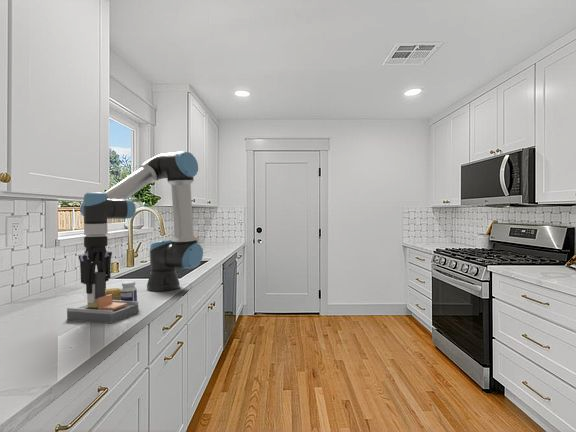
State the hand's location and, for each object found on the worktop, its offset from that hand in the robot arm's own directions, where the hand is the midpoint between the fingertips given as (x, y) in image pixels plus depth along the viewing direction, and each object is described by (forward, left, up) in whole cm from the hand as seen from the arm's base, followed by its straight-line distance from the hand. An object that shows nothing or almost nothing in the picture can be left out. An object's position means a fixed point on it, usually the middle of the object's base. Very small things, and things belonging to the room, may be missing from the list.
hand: (96, 300), depth 134 cm
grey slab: (0, +3, -5) cm, 6 cm away
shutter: (0, +7, -2) cm, 7 cm away
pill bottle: (-12, +4, -6) cm, 14 cm away
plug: (0, 0, -2) cm, 2 cm away
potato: (-15, -8, -6) cm, 18 cm away
